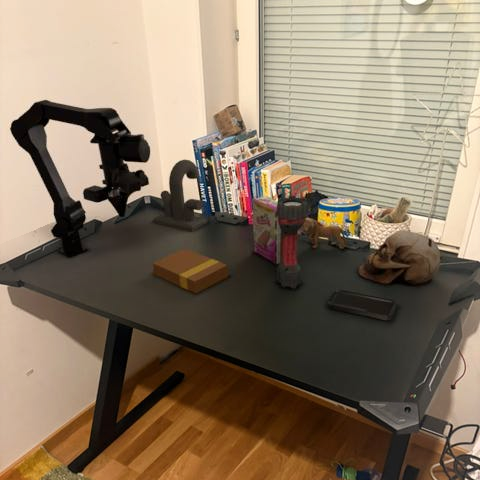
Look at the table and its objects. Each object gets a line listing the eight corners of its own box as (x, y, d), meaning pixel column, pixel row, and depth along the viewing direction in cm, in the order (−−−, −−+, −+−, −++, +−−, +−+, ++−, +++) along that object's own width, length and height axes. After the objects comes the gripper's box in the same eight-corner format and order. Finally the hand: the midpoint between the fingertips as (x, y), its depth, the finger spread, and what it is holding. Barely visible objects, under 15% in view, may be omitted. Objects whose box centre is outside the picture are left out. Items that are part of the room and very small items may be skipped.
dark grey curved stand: (221, 216, 171) (217, 158, 160) (194, 231, 160) (188, 170, 149) (180, 207, 179) (174, 152, 168) (152, 222, 168) (144, 163, 157)
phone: (336, 289, 122) (397, 301, 116) (336, 292, 123) (397, 305, 116) (326, 303, 116) (390, 317, 110) (326, 307, 117) (389, 321, 111)
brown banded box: (152, 263, 133) (194, 281, 123) (185, 248, 140) (227, 264, 130) (154, 274, 135) (195, 293, 125) (186, 259, 142) (228, 276, 132)
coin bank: (353, 268, 133) (364, 222, 126) (408, 265, 138) (421, 220, 130) (381, 297, 121) (395, 248, 113) (441, 293, 125) (457, 245, 118)
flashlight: (298, 294, 123) (301, 207, 110) (270, 288, 126) (270, 202, 114) (309, 281, 128) (314, 196, 116) (283, 275, 132) (284, 192, 119)
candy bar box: (252, 252, 145) (251, 198, 136) (265, 247, 147) (265, 194, 138) (275, 265, 137) (275, 209, 128) (289, 260, 139) (290, 205, 130)
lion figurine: (300, 250, 145) (301, 221, 140) (299, 242, 149) (300, 214, 144) (350, 249, 144) (353, 220, 139) (347, 242, 148) (350, 214, 143)
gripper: (103, 173, 118) (115, 233, 127) (159, 156, 131) (165, 212, 139) (76, 167, 124) (88, 225, 133) (131, 151, 137) (139, 205, 145)
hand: (122, 216), depth 137 cm, fingers closed
